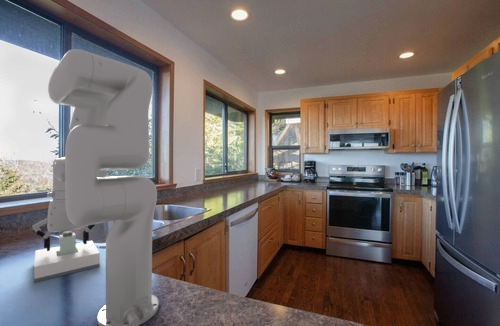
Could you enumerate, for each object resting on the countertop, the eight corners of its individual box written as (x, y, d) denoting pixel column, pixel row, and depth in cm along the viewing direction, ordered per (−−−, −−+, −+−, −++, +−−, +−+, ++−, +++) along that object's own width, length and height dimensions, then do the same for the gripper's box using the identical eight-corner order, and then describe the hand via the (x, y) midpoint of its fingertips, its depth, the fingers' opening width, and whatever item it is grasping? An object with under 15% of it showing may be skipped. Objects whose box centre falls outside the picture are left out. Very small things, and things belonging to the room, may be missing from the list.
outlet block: (99, 266, 78) (99, 252, 78) (34, 282, 68) (34, 266, 68) (92, 252, 90) (92, 240, 90) (35, 263, 80) (35, 250, 80)
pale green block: (75, 262, 79) (75, 232, 79) (60, 265, 76) (60, 234, 76) (74, 258, 82) (74, 229, 82) (59, 261, 79) (59, 232, 79)
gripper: (31, 199, 70) (31, 256, 70) (99, 194, 82) (99, 243, 82) (32, 196, 76) (32, 249, 76) (96, 191, 87) (96, 238, 87)
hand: (67, 246), depth 79 cm, fingers open, 9 cm apart
